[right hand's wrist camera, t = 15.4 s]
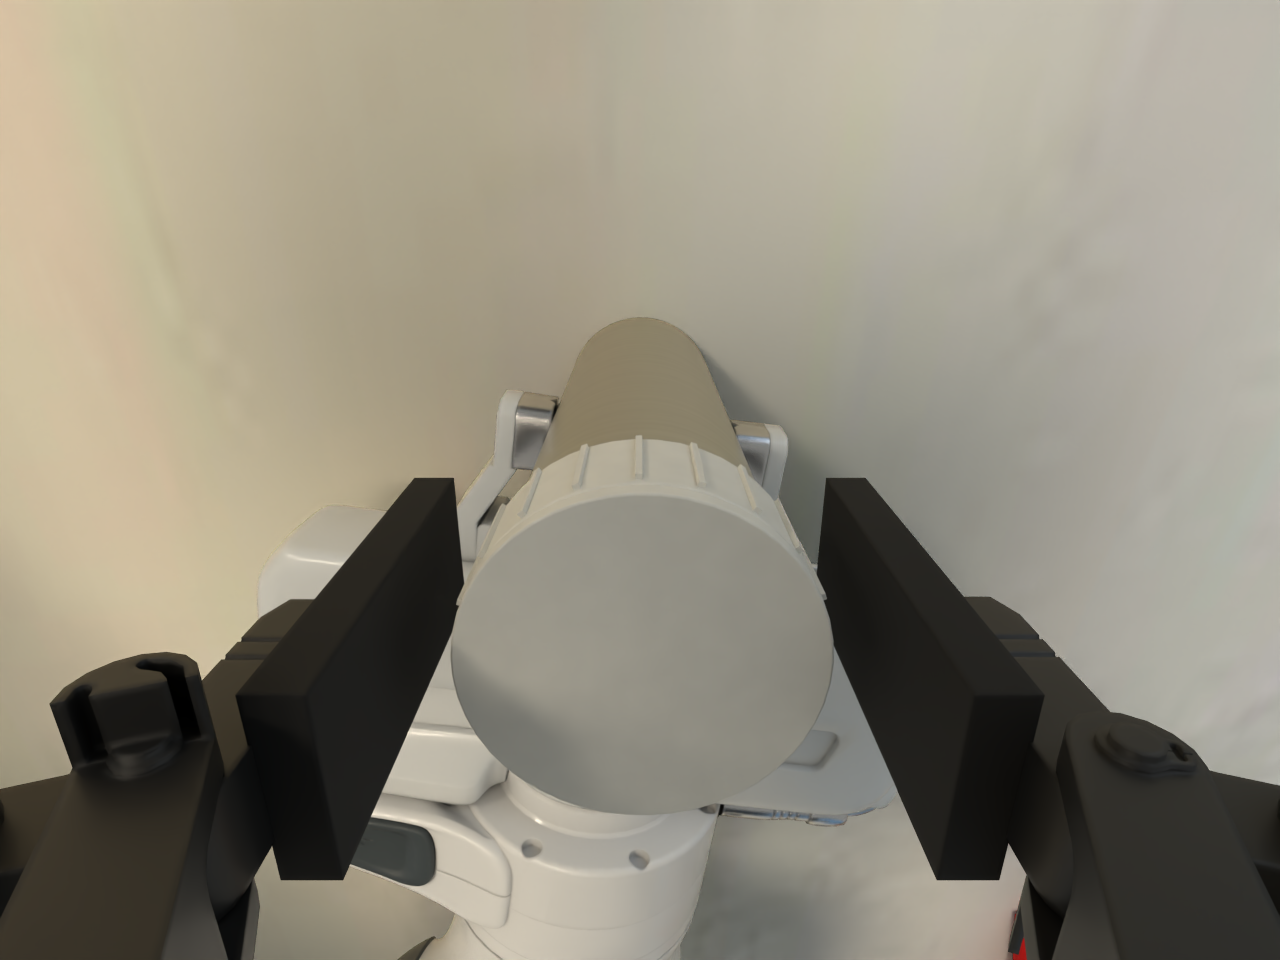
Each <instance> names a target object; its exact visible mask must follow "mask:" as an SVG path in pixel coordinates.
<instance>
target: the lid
mask: <svg viewBox="0 0 1280 960" xmlns="http://www.w3.org/2000/svg"><path fill="white" fill-rule="evenodd" d="M826 599H827V597H826V594H825V592H824V590H823V587H822V585H821V583H820V581H819V579H818V577H817V575H816V573H815V571H814V569H813V566H812V564H811V562H810V560H809V558H808V556H807V554H806V552H805V550H804V548H803V545H802V543H801V542H800V541H799V539H798V537H797V535H796V533H795V531H794V529H793V527H792V524H791V522H790V520H789V518H788V516H787V514H786V512H785V510H784V508H783V505H782V503H781V502H780V501H779V499H777V500H775V501H773V499H772V498H771V496H770V495H769V494H768V493H767V492H766V491H765V490H764V489H763V488H762V487H761V486H760V485H759V484H758V483H757V482H756V481H755V480H754V479H752V478H751V477H750V476H749V475H748V473H747V470H746V468H745V467H744V466H742V465H741V464H740V465H739V466H738V467H736V466H735V465H733V464H731V463H730V462H728V461H726V460H725V459H723V458H721V457H719V456H716V455H714V454H712V453H709V452H707V451H705V450H702V449H700V448H698V446H697V444H696V443H693V442H691V443H690V446H689V445H685V444H682V443H677V442H670V441H663V440H653V439H642V435H636V436H635V439H631V440H621V441H612V442H608V443H603V444H599V445H595V446H590V447H588V445H587V444H584V445H581V448H580V451H577V452H574V453H572V454H569V455H567V456H565V457H563V458H562V459H560V460H558V461H556V462H554V463H552V464H550V465H549V466H547V467H546V468H545V469H543V470H542V471H541V469H540V468H537V469H536V470H534V472H533V475H532V477H531V479H530V480H529V481H528V482H527V483H526V484H525V485H524V486H523V487H522V488H521V489H520V490H519V491H518V492H517V493H516V494H515V495H514V497H513V498H512V499H511V500H510V502H509V503H508V504H507V505H505V504H503V503H502V504H501V506H500V507H499V509H498V512H497V514H496V516H495V518H494V520H493V522H492V525H491V527H490V529H489V531H488V533H487V535H486V538H485V540H484V542H483V544H482V546H481V548H480V551H479V553H478V555H477V558H476V560H475V562H474V564H473V566H472V569H471V571H470V573H469V575H468V577H467V579H466V582H465V584H464V586H463V588H462V590H461V592H460V595H459V597H458V599H457V603H456V605H458V606H459V608H458V610H457V613H456V617H455V622H454V626H453V630H452V638H451V653H450V656H451V668H452V677H453V681H454V685H455V689H456V693H457V697H458V700H459V702H460V705H461V707H462V709H463V712H464V714H465V717H466V718H467V720H468V722H469V724H470V725H471V727H472V729H473V730H474V732H475V734H476V735H477V737H478V738H479V739H480V740H481V742H482V743H483V744H484V745H485V747H486V748H487V749H488V751H489V752H490V753H491V754H492V755H493V756H494V757H495V758H496V759H497V760H498V761H499V762H500V763H501V764H502V765H503V766H505V767H506V768H507V769H508V770H510V771H511V772H512V773H514V774H515V775H516V776H518V777H519V778H520V779H521V780H523V781H525V782H526V783H528V784H530V785H531V786H533V787H535V788H536V789H538V790H540V791H542V792H544V793H546V794H548V795H550V796H553V797H555V798H557V799H559V800H561V801H564V802H567V803H570V804H573V805H576V806H579V807H583V808H587V809H592V810H596V811H601V812H606V813H615V814H623V815H659V814H671V813H677V812H683V811H688V810H693V809H697V808H701V807H704V806H707V805H711V804H714V803H717V802H720V801H722V800H724V799H727V798H729V797H732V796H734V795H736V794H738V793H740V792H742V791H744V790H746V789H747V788H749V787H751V786H753V785H755V784H757V783H758V782H759V781H761V780H762V779H764V778H765V777H766V776H768V775H769V774H771V773H772V772H774V771H775V770H776V769H777V768H778V767H779V766H780V765H781V764H782V763H784V762H785V761H786V760H787V759H788V758H789V757H790V756H791V755H792V754H793V753H794V752H795V750H796V749H797V748H798V747H799V746H800V745H801V743H802V742H803V741H804V740H805V738H806V737H807V735H808V734H809V732H810V731H811V729H812V727H813V726H814V724H815V723H816V721H817V719H818V717H819V714H820V712H821V710H822V708H823V706H824V704H825V700H826V697H827V694H828V690H829V687H830V684H831V678H832V671H833V664H834V640H833V634H832V629H831V623H830V618H829V615H828V612H827V609H826V606H825V603H824V600H826Z"/></svg>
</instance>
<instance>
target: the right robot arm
mask: <svg viewBox="0 0 1280 960" xmlns="http://www.w3.org/2000/svg"><path fill="white" fill-rule="evenodd" d="M817 577H818V579H819V581H820V583H821V585H822V587H823V590H824V592H825V594H826V597H827V599H826V600H824V603H825V606H826V609H827V612H828V615H829V618H830V623H831V629H832V634H833V640H834V648H835V650H836V652H837V654H838V657H839V659H840V661H841V663H842V666H843V668H844V670H845V673H846V675H847V677H848V679H849V682H850V684H851V686H852V688H853V691H854V693H855V695H856V698H857V700H858V702H859V704H860V707H861V709H862V711H863V713H864V716H865V718H866V720H867V723H868V725H869V727H870V729H871V732H872V734H873V736H874V738H875V741H876V743H877V745H878V748H879V750H880V752H881V754H882V757H883V759H884V761H885V763H886V766H887V768H888V770H889V773H890V775H891V777H892V779H893V782H894V784H895V786H896V788H897V791H898V793H899V795H900V798H901V800H902V802H903V804H904V807H905V809H906V811H907V813H908V816H909V818H910V820H911V823H912V825H913V827H914V829H915V832H916V834H917V836H918V838H919V841H920V843H921V845H922V848H923V850H924V852H925V854H926V857H927V859H928V861H929V863H930V866H931V868H932V870H933V873H934V875H935V877H936V879H937V880H999V879H1000V875H1001V871H1002V867H1003V863H1004V859H1005V854H1006V850H1007V846H1008V843H1009V845H1010V846H1011V848H1012V850H1013V852H1014V853H1015V855H1016V857H1017V858H1018V860H1019V862H1020V864H1021V865H1022V867H1023V869H1024V871H1025V872H1026V874H1027V876H1026V879H1025V883H1024V887H1023V891H1022V895H1021V898H1020V902H1019V906H1018V910H1017V913H1016V917H1015V921H1014V925H1013V928H1012V932H1011V936H1010V943H1009V949H1008V952H1011V953H1014V954H1017V955H1019V951H1020V948H1021V944H1022V940H1023V938H1024V940H1025V949H1026V957H1027V960H1280V786H1278V785H1274V784H1269V783H1264V782H1260V781H1255V780H1250V779H1245V778H1241V777H1236V776H1231V775H1227V774H1222V773H1217V772H1213V771H1210V770H1209V769H1208V767H1207V766H1206V765H1205V763H1204V762H1203V761H1202V759H1201V758H1200V757H1199V755H1198V754H1197V753H1196V752H1195V750H1194V749H1192V748H1191V747H1190V746H1188V745H1187V744H1186V743H1184V742H1183V741H1182V740H1180V739H1179V738H1178V737H1176V736H1175V735H1174V734H1172V733H1170V732H1168V731H1166V730H1164V729H1162V728H1160V727H1158V726H1156V725H1154V724H1152V723H1150V722H1148V721H1145V720H1141V719H1138V718H1135V717H1131V716H1128V715H1125V714H1121V713H1113V712H1110V711H1109V710H1108V709H1107V708H1106V707H1105V706H1104V705H1103V704H1102V703H1101V702H1100V700H1099V699H1098V698H1097V697H1096V696H1095V695H1094V694H1093V693H1092V692H1091V691H1090V690H1089V689H1088V688H1087V686H1086V685H1085V684H1084V683H1083V682H1082V681H1081V680H1080V679H1079V678H1078V677H1077V676H1076V675H1075V674H1074V672H1073V671H1072V670H1071V669H1070V668H1069V667H1068V666H1067V665H1066V664H1065V663H1064V662H1063V661H1062V659H1061V658H1060V657H1055V652H1054V651H1053V650H1052V649H1051V648H1050V647H1049V645H1048V644H1047V643H1046V642H1045V641H1044V640H1043V639H1039V635H1038V634H1037V633H1036V631H1035V630H1034V629H1033V628H1032V627H1031V626H1030V625H1029V624H1028V623H1027V622H1026V621H1025V620H1024V619H1023V617H1022V616H1021V615H1020V614H1018V613H1016V612H1015V611H1013V610H1011V609H1010V608H1008V607H1006V606H1005V605H1003V604H1001V603H1000V602H998V601H996V600H995V599H993V598H991V597H963V595H962V594H961V593H960V592H959V591H958V589H957V588H956V587H955V586H954V585H953V583H952V582H951V581H950V580H949V579H948V577H947V576H946V575H945V574H944V572H943V571H942V570H941V569H940V568H939V566H938V565H937V564H936V563H935V562H934V560H933V559H932V558H931V557H930V556H929V554H928V553H927V552H926V551H925V549H924V548H923V547H922V546H921V545H920V543H919V542H918V541H917V540H916V539H915V537H914V536H913V535H912V534H911V533H910V531H909V530H908V529H907V528H906V527H905V525H904V524H903V523H902V522H901V520H900V519H899V518H898V517H897V516H896V514H895V513H894V512H893V511H892V510H891V508H890V507H889V506H888V505H887V504H886V502H885V501H884V500H883V499H882V497H881V496H880V495H879V494H878V493H877V491H876V490H875V489H874V488H873V487H872V485H871V484H870V483H869V482H868V481H867V479H866V478H826V486H825V496H824V506H823V516H822V526H821V536H820V545H819V555H818V565H817ZM463 586H464V575H463V566H462V556H461V546H460V536H459V526H458V516H457V506H456V496H455V486H454V478H414V479H413V481H412V482H411V483H410V484H409V485H408V487H407V488H406V489H405V490H404V491H403V493H402V494H401V495H400V496H399V497H398V499H397V500H396V501H395V502H394V504H393V505H392V506H391V507H390V508H389V510H388V511H387V512H386V513H385V514H384V516H383V517H382V518H381V519H380V520H379V522H378V523H377V524H376V525H375V526H374V528H373V529H372V530H371V531H370V533H369V534H368V535H367V536H366V537H365V539H364V540H363V541H362V542H361V543H360V545H359V546H358V547H357V548H356V549H355V551H354V552H353V553H352V554H351V556H350V557H349V558H348V559H347V560H346V562H345V563H344V564H343V565H342V566H341V568H340V569H339V570H338V571H337V572H336V574H335V575H334V576H333V577H332V579H331V580H330V581H329V582H328V583H327V585H326V586H325V587H324V588H323V589H322V591H321V592H320V593H319V594H318V595H317V597H316V598H315V599H290V600H288V601H286V602H285V603H283V604H281V605H280V606H278V607H276V608H275V609H273V610H271V611H270V612H268V613H266V614H265V615H263V616H261V617H260V618H259V619H258V620H257V622H256V623H255V624H254V625H253V626H252V627H251V628H250V629H249V630H248V631H247V632H246V633H245V635H244V636H243V637H242V640H241V642H237V643H236V644H235V645H234V646H233V648H232V649H231V650H230V651H229V652H228V653H227V654H226V658H225V660H221V661H220V662H219V663H218V664H217V665H216V666H215V667H214V668H213V669H212V670H211V671H210V673H209V674H208V675H207V676H206V677H205V678H204V679H203V680H201V676H200V672H199V668H198V665H197V662H195V661H194V660H192V659H191V658H190V657H188V656H187V655H183V654H176V653H170V652H161V653H151V654H141V655H137V656H133V657H130V658H126V659H122V660H118V661H114V662H112V663H110V664H107V665H105V666H103V667H100V668H98V669H96V670H93V671H91V672H89V673H86V674H85V675H83V676H82V677H80V678H79V679H77V680H76V681H74V682H72V683H71V684H69V685H68V686H66V687H65V688H64V689H63V690H62V691H61V692H60V693H59V694H58V695H57V696H56V697H55V698H54V699H53V701H52V702H51V703H50V707H51V709H52V712H53V715H54V718H55V720H56V723H57V726H58V729H59V731H60V734H61V737H62V740H63V742H64V745H65V748H66V751H67V754H68V756H69V759H70V762H71V765H72V767H73V768H72V771H71V773H70V774H68V775H64V776H59V777H55V778H50V779H45V780H41V781H36V782H31V783H27V784H22V785H17V786H12V787H8V788H3V789H0V960H253V959H254V951H255V942H256V934H257V926H258V918H259V909H260V904H259V897H258V891H257V887H256V883H255V879H254V876H255V874H256V873H257V871H258V869H259V867H260V866H261V864H262V862H263V860H264V859H265V857H266V855H267V853H268V852H269V850H270V848H271V847H272V846H273V851H274V855H275V859H276V863H277V867H278V871H279V875H280V879H281V880H343V879H344V877H345V875H346V873H347V870H348V868H349V866H350V863H351V861H352V859H353V857H354V854H355V852H356V850H357V848H358V845H359V843H360V841H361V838H362V836H363V834H364V832H365V829H366V827H367V825H368V823H369V820H370V818H371V816H372V813H373V811H374V809H375V807H376V804H377V802H378V800H379V798H380V795H381V793H382V791H383V788H384V786H385V784H386V782H387V779H388V777H389V775H390V773H391V770H392V768H393V766H394V763H395V761H396V759H397V757H398V754H399V752H400V750H401V747H402V745H403V743H404V741H405V738H406V736H407V734H408V732H409V729H410V727H411V725H412V722H413V720H414V718H415V716H416V713H417V711H418V709H419V707H420V704H421V702H422V700H423V697H424V695H425V693H426V691H427V688H428V686H429V684H430V682H431V679H432V677H433V675H434V672H435V670H436V668H437V666H438V663H439V661H440V659H441V657H442V654H443V652H444V650H445V647H446V645H447V643H448V641H449V638H450V636H451V634H452V630H453V626H454V622H455V617H456V613H457V610H458V608H459V606H458V605H456V603H457V599H458V597H459V595H460V592H461V590H462V588H463Z"/></svg>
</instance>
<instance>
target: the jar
mask: <svg viewBox="0 0 1280 960" xmlns="http://www.w3.org/2000/svg"><path fill="white" fill-rule="evenodd" d="M636 435H642V439H653V440H663V441H670V442H677V443H682V444H685V445H689V446H690V443H691V442H693V443H696V444H697V446H698V448H700V449H702V450H705V451H707V452H709V453H712V454H714V455H716V456H719V457H721V458H723V459H725V460H726V461H728V462H730V463H731V464H733V465H735V466H736V467H738V466H739V465H740V464H741V465H742V466H744V467H745V468H746V470H747V473H748V475H749V476H750V477H751V478H752V479H754V478H753V475H752V473H751V471H750V468H749V466H748V463H747V461H746V459H745V456H744V454H743V451H742V449H741V447H740V444H739V442H738V439H737V437H736V435H735V432H734V430H733V427H732V425H731V422H730V420H729V418H728V415H727V413H726V410H725V408H724V406H723V403H722V401H721V398H720V396H719V394H718V391H717V389H716V386H715V384H714V381H713V379H712V377H711V374H710V372H709V369H708V367H707V365H706V362H705V360H704V358H703V356H702V354H701V352H700V350H699V349H698V347H697V346H696V344H695V343H694V342H693V341H692V340H691V339H690V338H689V336H687V335H686V334H685V333H684V332H682V331H681V330H680V329H678V328H676V327H675V326H673V325H671V324H669V323H666V322H664V321H660V320H657V319H651V318H630V319H625V320H621V321H618V322H615V323H613V324H610V325H609V326H607V327H605V328H603V329H602V330H600V331H599V332H598V333H596V334H595V335H594V336H593V337H592V338H591V339H590V340H589V341H588V343H587V344H586V345H585V346H584V348H583V349H582V351H581V353H580V355H579V356H578V359H577V361H576V364H575V366H574V369H573V371H572V374H571V376H570V379H569V381H568V384H567V386H566V389H565V391H564V394H563V396H562V399H561V401H560V404H559V406H558V409H557V411H556V414H555V416H554V419H553V421H552V424H551V426H550V428H549V431H548V433H547V436H546V438H545V441H544V443H543V446H542V448H541V451H540V453H539V456H538V458H537V461H536V463H535V466H534V468H533V471H532V473H531V476H530V478H529V480H530V479H531V477H532V475H533V472H534V470H536V469H537V468H540V469H541V471H542V470H543V469H545V468H546V467H547V466H549V465H550V464H552V463H554V462H556V461H558V460H560V459H562V458H563V457H565V456H567V455H569V454H572V453H574V452H577V451H580V448H581V445H584V444H587V445H588V447H590V446H595V445H599V444H603V443H608V442H612V441H621V440H631V439H635V436H636Z"/></svg>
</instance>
